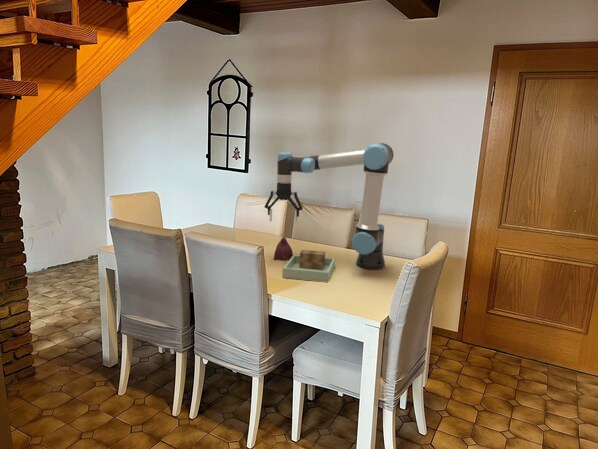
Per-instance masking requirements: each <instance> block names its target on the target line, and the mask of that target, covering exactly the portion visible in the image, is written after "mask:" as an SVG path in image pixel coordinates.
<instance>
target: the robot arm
mask: <svg viewBox="0 0 598 449" xmlns="http://www.w3.org/2000/svg"><path fill="white" fill-rule="evenodd" d="M393 159H394V150H393V148H392V147H391V146H390V145H389V144H387V143H384V142H381V143H372V144H370V145H368V146H367V147H365V148H364V149H358V150H350V151H343V152H341V151H340V152H335V153H326V154H325V153H324V154H319V155H311V156H305V157H295V156H293V153H291V152H279V153H278V154H277V171H276V172H277V173H276V175H277V176H276V182H277V183H276V191H274V190H271V191H270V193H269V194H270V195H269V197H268V199H267V200H266V203H265V204H264V209H267V215H268V216H269V223H271V222H272V221H273V208H272V207H273V206H274V205H275V204H276V203H277V202H278V200H280V201H289V203H290V204H291V205H292V206H293V208H294V209H295V211H294V223H295V224H297V223H298V218H299V216H300V211H302V210H303V209H304V208H303V205H302V203H301V201H300V198H299V196H298V192H297V191H294V192H293V191H292V177H293V176H292V174H293V172H294V173H296V172H297V173H304V174H310V173H311V174H312V173H313V172H314V171H318V170H320V171H321V170H326V169H327V170H328V169H336V168H345V167H354V166H363V169H362V170H363V172H364V174H365V181H364V188H363V194H362V203H361V210H360V218H359V222H358V223H356V225H355V231H354V232H355V233H354V235H353V236H352V239H351V246H352V248H353V250H354V251H355V253H358V256H357V258H356V260H355V261H356V262H355V264H356V266H357V267H359V268H361V269H366V270H381V269H380V268H382V269H384V268H385V267H386V261H385V257H384V253H383V250H384V234H385V226H384V224H382V223H379V222H378V221H379V214H380V207H381V200H382V192H383V186H384V184H383V183H384V180H385V179H384V178H385V177H386V175H388V172H389V167H390V164H391V163H392V162H393ZM275 195H276V196H277V197H276V198H275V199H274V200H273V201H272V203H271V204H270V202H271V200H272V199H273V198H274V196H275ZM291 196H293V197H294V200H295V201H296V203H297V204H296V203H295V201H294V200H293V198H292V197H291ZM383 267H384V268H383Z"/></svg>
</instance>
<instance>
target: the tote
mask: <svg viewBox="0 0 598 449" xmlns="http://www.w3.org/2000/svg"><path fill="white" fill-rule="evenodd" d="M335 262H336V258H331V257H325V267H324V269H323V270H317V269H306V268H300V254H293V256H292V258H291V259H290V260H287V262H286V264H285V265H284V266H283V267H282V278H283V279H286V280H296V281H306V282H313V281H314V282H316V283H325V284H326V283H328V284H329V280H330V278H331V276H332V274H333V271H334V269H335V266H336V263H335Z"/></svg>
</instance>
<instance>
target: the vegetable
mask: <svg viewBox="0 0 598 449" xmlns="http://www.w3.org/2000/svg"><path fill="white" fill-rule="evenodd" d="M293 255H294V252H293V249H292V247H291V245H290V244H289V242H288V241H287V238H286V237H285V236H282V237H281V239H280V241H279V242H278V243H277V245H276V248H275V250H274V256H273V260H274V261H282V262H284V261H285V262H286V261H289V260H290V259H291V258H292V256H293Z"/></svg>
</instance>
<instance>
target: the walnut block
mask: <svg viewBox="0 0 598 449" xmlns="http://www.w3.org/2000/svg"><path fill="white" fill-rule="evenodd" d="M299 255H300V268H306V269H317V270H323V269H324V267H325V258H326V251H320V250H309V249H301V251H300V253H299Z"/></svg>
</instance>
